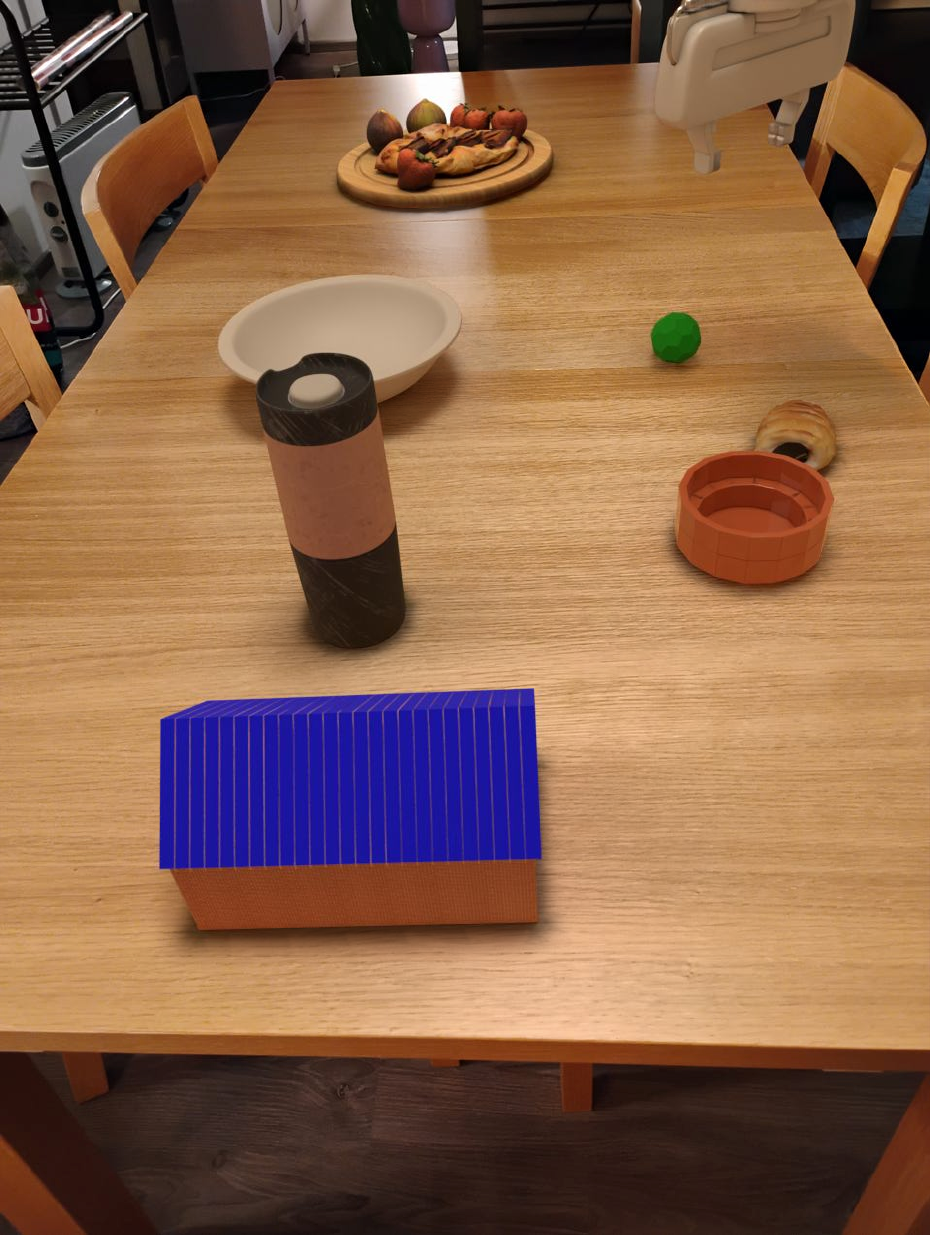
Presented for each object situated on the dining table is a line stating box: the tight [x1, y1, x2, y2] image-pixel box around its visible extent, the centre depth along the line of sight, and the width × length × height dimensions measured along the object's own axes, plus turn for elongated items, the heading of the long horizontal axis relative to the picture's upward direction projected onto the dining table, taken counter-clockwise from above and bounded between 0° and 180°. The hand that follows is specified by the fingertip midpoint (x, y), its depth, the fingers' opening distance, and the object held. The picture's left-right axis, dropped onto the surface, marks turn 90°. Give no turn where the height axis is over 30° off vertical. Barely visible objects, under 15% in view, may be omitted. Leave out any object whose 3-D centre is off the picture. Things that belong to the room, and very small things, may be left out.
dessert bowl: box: [674, 450, 835, 584], centre depth 77 cm, size 11×11×5 cm
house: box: [158, 687, 543, 931], centre depth 56 cm, size 12×20×12 cm, turn 89°
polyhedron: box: [650, 311, 702, 365], centre depth 99 cm, size 5×5×5 cm
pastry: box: [753, 399, 837, 471], centre depth 87 cm, size 9×7×4 cm
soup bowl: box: [217, 273, 463, 404], centre depth 100 cm, size 24×24×7 cm
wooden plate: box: [335, 98, 555, 209], centre depth 144 cm, size 32×32×8 cm
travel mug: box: [254, 352, 406, 649], centre depth 69 cm, size 8×8×20 cm
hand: (743, 157), depth 88 cm, fingers open, 8 cm apart
